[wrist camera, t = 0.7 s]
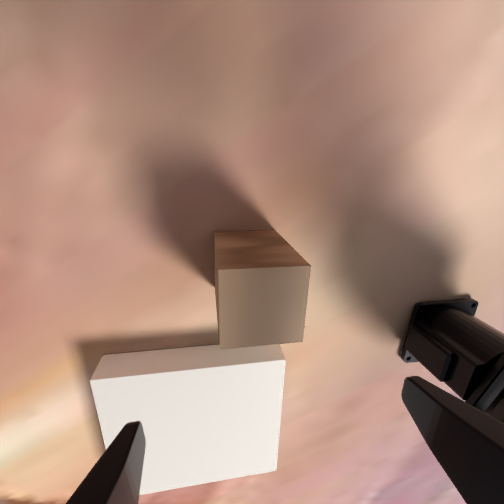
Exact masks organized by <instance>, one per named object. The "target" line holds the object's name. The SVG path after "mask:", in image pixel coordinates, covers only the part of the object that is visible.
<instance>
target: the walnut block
mask: <svg viewBox="0 0 504 504" xmlns="http://www.w3.org/2000/svg"><path fill="white" fill-rule="evenodd" d="M214 266H215V294H216V306H217V319H218V332H219V344H220V350H221V349H232V348H242V347H253V346H264V345H274V344H285V343H295V342H303V333H304V324H305V314H306V305H307V296H308V287H309V278H310V268H311V265H310V264H309V263H308V262H307V261H305V260H304V259H303V258H302V257H301V256H300V255H299V254H298V253H297V252H296V251H295V250H294V249H293V248H292V247H291V246H290V245H289V244H288V243H287V242H286V241H285V240H284V239H283V238H282V237H281V236H280V235H279V234H278V233H277V232H276V231H275V230H249V231H214Z"/></svg>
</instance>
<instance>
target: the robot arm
mask: <svg viewBox="0 0 504 504" xmlns="http://www.w3.org/2000/svg"><path fill="white" fill-rule="evenodd" d="M477 306H478V302H477V301H476V300H474V299H460V300H446V301H433V302H420V303H417V304H416V305H415V307H414V310H413V314H412V318H411V321H410V325H409V329H408V333H407V336H406V340H405V344H404V348H403V351H402V355H401V359H402V360H403V361H404V362H406V363H410V362H418V361H419V362H420V363H421V364H422V365H423V366H424V367H425V368H426V369H428V370H429V371H430V372H431V373H432V374H433V375H434V376H435V377H436V378H437V379H438V380H439V381H441V382H445V383H446V384H447V385H448V386H449V387H450V388H451V389H452V390H453V391H454V392H455V393H456V394H457V395H459V396H460V397H461V398H462V399H463V400H466V401H465V402H464V401H462V400H460V399H459V398H457V397H455V396H453V395H451V394H450V393H448V392H446V391H444V390H442V389H441V388H439V387H437V386H435V385H433V384H432V383H430V382H428V381H426V380H424V379H422V378H421V377H418V376H411V377H406V378H405V380H404V384H403V389H402V394H401V395H402V400H403V402H404V404H405V406H406V408H407V409H408V411H409V413H410V415H411V416H412V418H413V420H414V422H415V424H416V425H417V427H418V429H419V431H420V432H421V434H422V436H423V438H424V439H425V441H426V443H427V445H428V446H429V448H430V450H431V451H432V453H433V454H434V456H435V457H436V459H437V460H438V462H439V463H440V465H441V466H442V468H443V469H444V471H445V472H446V474H447V475H448V477H449V478H450V480H451V481H452V483H453V484H454V486H455V487H456V488H457V490H458V491H459V493H460V494H461V496H462V497H463V499H464V500H465V502H466V503H467V504H504V334H503V333H502V332H500V331H498V330H496V329H495V328H493V327H491V326H489V325H488V324H486V323H484V322H483V321H481V320H479V319H477V318H476V317H474V315H475V312H476V309H477ZM145 447H146V440H145V435H144V431H143V427H142V423H141V422H140V421H135V422H129V423H127V424H125V425H124V427H123V428H122V429H121V431H120V432H119V433H118V435H117V436H116V437H115V439H114V440H113V441H112V443H111V444H110V445H109V447H108V448H107V449H106V451H105V452H104V453H103V455H102V456H101V457H100V459H99V460H98V461H97V463H96V464H95V465H94V467H93V468H92V469H91V471H90V472H89V473H88V475H87V476H86V477H85V479H84V480H83V481H82V483H81V484H80V485H79V487H78V488H77V489H76V491H75V492H74V493H73V495H72V496H71V497H70V499H69V500H68V501H67V503H66V504H138V500H139V493H140V485H141V478H142V470H143V462H144V455H145Z"/></svg>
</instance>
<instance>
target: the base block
mask: <svg viewBox="0 0 504 504" xmlns="http://www.w3.org/2000/svg"><path fill="white" fill-rule="evenodd" d="M285 362H286V359H285V357H284V354H283V352H282V349H281V347H280V344H274V345H264V346H253V347H242V348H232V349H221V350H220V344H218V345H207V346H196V347H185V348H174V349H163V350H152V351H141V352H130V353H120V354H109V355H103V356H102V358H101V360H100V362H99V364H98V366H97V367H96V369H95V371H94V373H93V375H92V377H91V379H90V384H91V388H92V392H93V397H94V401H95V405H96V409H97V414H98V418H99V422H100V427H101V431H102V435H103V440H104V444H105V448H106V449H107V448H108V447H109V445H110V444H111V443H112V441H113V440H114V439H115V437H116V436H117V435H118V433H119V432H120V431H121V429H122V428H123V427H124V425H125V424H127V423H129V422H135V421H140V422H141V423H142V427H143V431H144V435H145V440H146V447H145V455H144V462H143V470H142V478H141V485H140V493H139V495H143V494H148V493H154V492H160V491H165V490H171V489H176V488H182V487H187V486H193V485H198V484H204V483H210V482H215V481H221V480H226V479H232V478H237V477H243V476H248V475H254V474H260V473H265V472H271V471H276V468H277V456H278V444H279V433H280V421H281V409H282V397H283V385H284V374H285Z"/></svg>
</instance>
